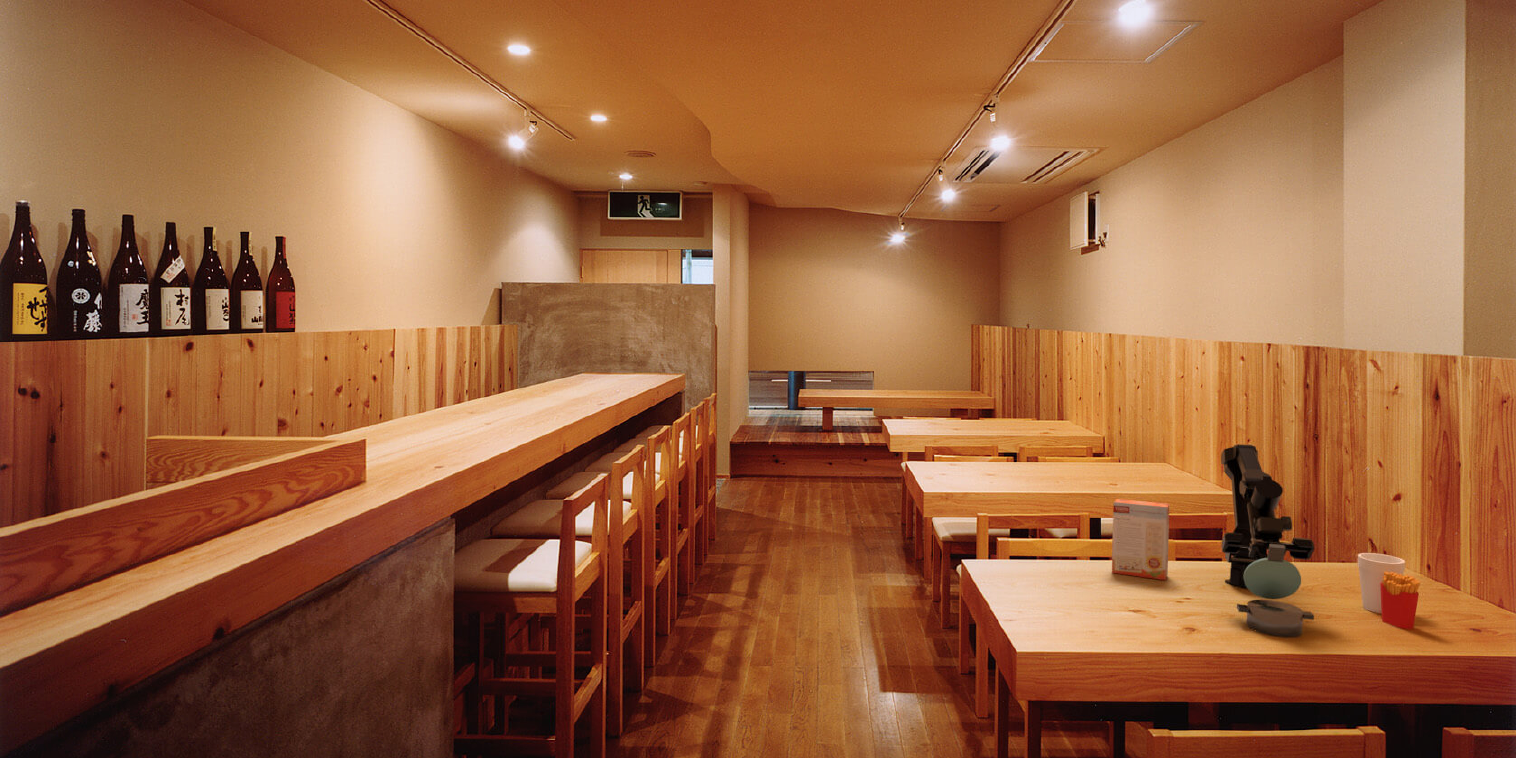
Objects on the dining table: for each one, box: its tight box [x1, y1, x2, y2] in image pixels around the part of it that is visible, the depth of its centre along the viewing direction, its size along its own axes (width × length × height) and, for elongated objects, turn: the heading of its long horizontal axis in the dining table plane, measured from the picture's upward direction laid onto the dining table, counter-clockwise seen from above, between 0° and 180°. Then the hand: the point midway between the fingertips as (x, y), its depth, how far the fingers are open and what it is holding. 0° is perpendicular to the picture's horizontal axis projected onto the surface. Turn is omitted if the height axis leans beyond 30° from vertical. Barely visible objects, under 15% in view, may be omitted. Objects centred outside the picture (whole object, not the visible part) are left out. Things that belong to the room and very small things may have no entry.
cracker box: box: [1111, 498, 1170, 581], centre depth 230 cm, size 14×6×21 cm, turn 58°
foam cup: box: [1357, 552, 1406, 614], centre depth 202 cm, size 10×9×13 cm
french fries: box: [1380, 572, 1421, 630], centre depth 192 cm, size 8×4×12 cm, turn 9°
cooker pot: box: [1236, 599, 1315, 638], centre depth 190 cm, size 12×15×5 cm
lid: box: [1244, 544, 1302, 600], centre depth 192 cm, size 15×12×1 cm
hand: (1271, 577), depth 193 cm, fingers closed, pressing on lid
